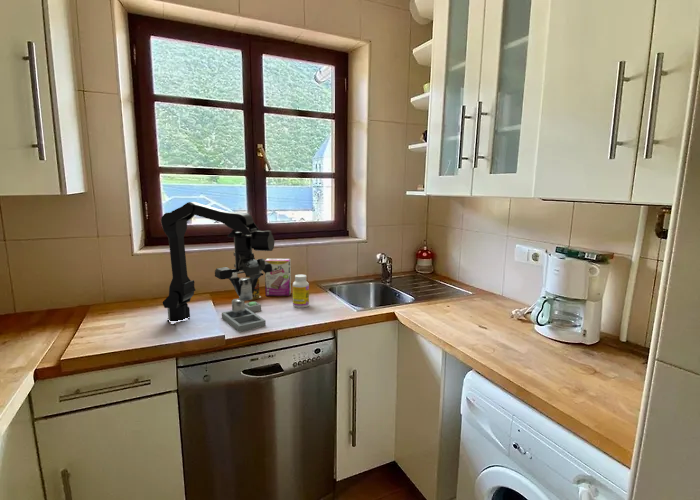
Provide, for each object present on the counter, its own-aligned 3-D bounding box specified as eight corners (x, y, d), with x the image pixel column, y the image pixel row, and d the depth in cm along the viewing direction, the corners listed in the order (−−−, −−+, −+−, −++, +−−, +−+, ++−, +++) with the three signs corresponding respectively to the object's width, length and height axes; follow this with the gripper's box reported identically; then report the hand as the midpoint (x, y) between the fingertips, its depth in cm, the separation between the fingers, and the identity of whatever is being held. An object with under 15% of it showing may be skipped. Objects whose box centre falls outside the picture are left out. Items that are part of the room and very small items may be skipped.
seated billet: (235, 321, 137) (234, 302, 136) (230, 318, 141) (229, 299, 140) (247, 319, 140) (246, 300, 139) (242, 315, 144) (241, 297, 142)
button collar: (249, 314, 147) (248, 307, 146) (244, 311, 151) (243, 303, 150) (261, 311, 150) (261, 304, 149) (256, 308, 154) (255, 301, 153)
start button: (250, 311, 148) (250, 304, 148) (247, 309, 150) (247, 302, 150) (257, 310, 150) (257, 303, 149) (254, 308, 152) (254, 301, 151)
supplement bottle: (307, 308, 154) (307, 277, 152) (291, 308, 154) (291, 277, 152) (309, 303, 161) (309, 273, 159) (294, 303, 161) (293, 273, 159)
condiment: (259, 301, 163) (258, 274, 161) (239, 302, 162) (238, 274, 160) (261, 296, 170) (260, 270, 168) (241, 297, 169) (240, 270, 167)
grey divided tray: (239, 333, 128) (239, 326, 128) (221, 319, 141) (221, 312, 141) (265, 327, 134) (265, 320, 133) (246, 314, 147) (246, 307, 147)
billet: (237, 298, 133) (236, 279, 132) (249, 296, 136) (248, 277, 134) (242, 301, 129) (241, 281, 128) (254, 299, 132) (253, 279, 131)
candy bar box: (265, 296, 170) (264, 260, 168) (266, 293, 175) (265, 258, 173) (290, 296, 171) (289, 260, 168) (291, 293, 176) (290, 258, 173)
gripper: (225, 256, 118) (228, 305, 120) (279, 250, 129) (280, 294, 132) (212, 251, 126) (215, 297, 129) (264, 246, 138) (266, 288, 140)
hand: (245, 294), depth 132 cm, fingers closed on billet, 4 cm apart
